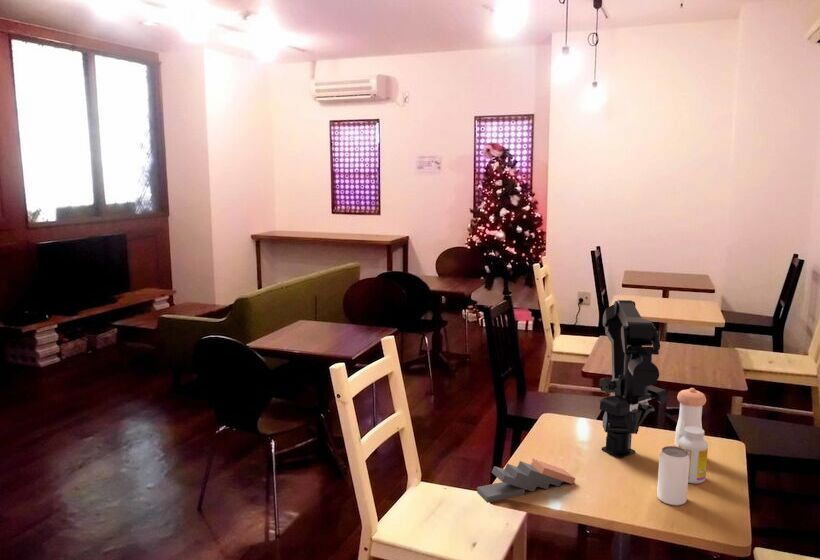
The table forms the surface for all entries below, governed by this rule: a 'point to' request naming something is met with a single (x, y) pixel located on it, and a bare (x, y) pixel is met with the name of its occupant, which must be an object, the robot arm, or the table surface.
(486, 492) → the domino
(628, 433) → the robot arm
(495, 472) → the domino
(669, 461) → the can
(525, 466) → the domino
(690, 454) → the supplement bottle
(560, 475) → the domino
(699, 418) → the salt shaker
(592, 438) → the table surface
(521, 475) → the domino
